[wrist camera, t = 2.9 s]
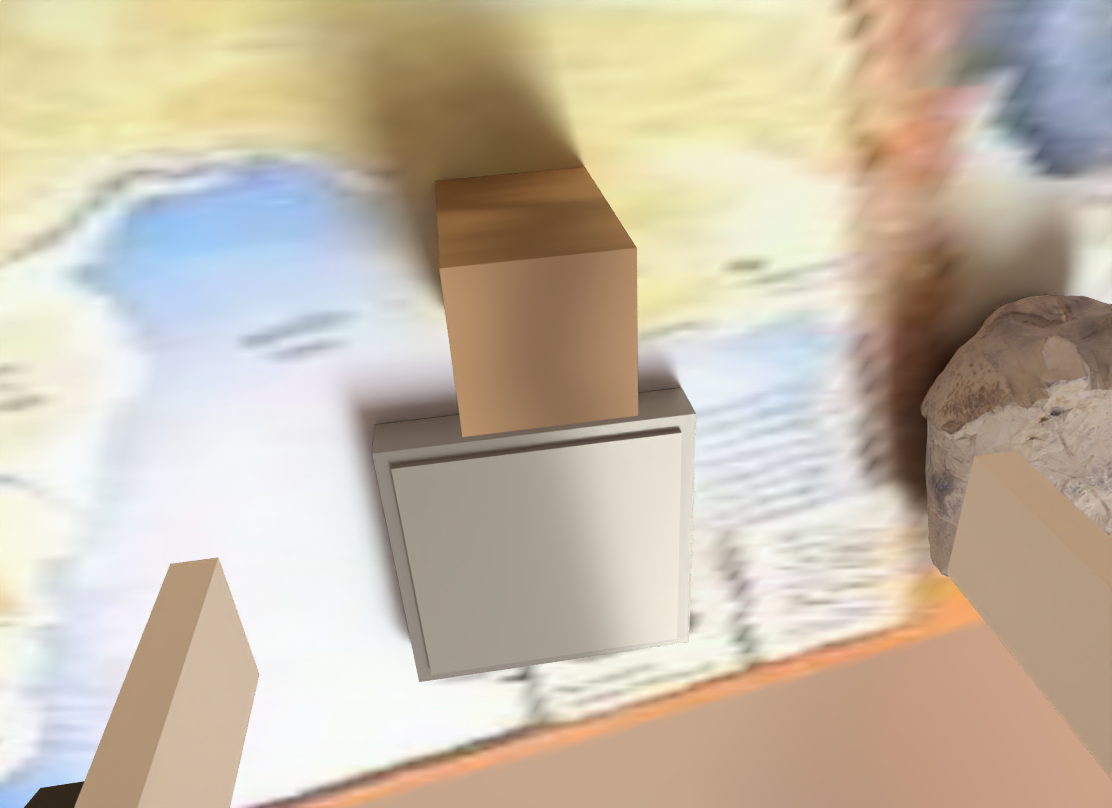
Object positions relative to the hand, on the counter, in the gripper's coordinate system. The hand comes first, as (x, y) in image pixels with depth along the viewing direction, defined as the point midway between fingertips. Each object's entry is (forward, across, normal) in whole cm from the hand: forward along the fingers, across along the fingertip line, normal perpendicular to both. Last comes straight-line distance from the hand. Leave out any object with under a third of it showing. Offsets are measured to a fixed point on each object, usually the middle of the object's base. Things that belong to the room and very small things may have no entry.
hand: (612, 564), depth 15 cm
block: (+17, 0, 0) cm, 17 cm away
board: (+17, 0, -12) cm, 21 cm away
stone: (+17, +19, -9) cm, 27 cm away
